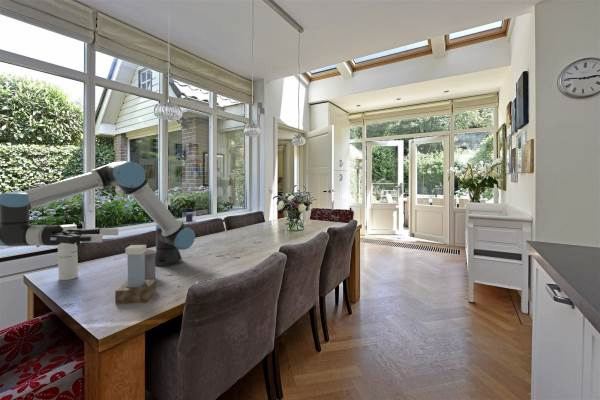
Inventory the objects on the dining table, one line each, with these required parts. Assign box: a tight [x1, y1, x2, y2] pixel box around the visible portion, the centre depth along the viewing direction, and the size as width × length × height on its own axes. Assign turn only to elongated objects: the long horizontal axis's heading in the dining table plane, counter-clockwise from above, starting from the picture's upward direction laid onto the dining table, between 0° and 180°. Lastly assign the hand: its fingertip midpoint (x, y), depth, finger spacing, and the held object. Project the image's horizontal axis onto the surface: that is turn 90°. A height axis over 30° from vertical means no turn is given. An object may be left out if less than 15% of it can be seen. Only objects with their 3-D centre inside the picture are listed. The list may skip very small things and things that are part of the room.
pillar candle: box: [145, 249, 156, 280], centre depth 134 cm, size 10×10×15 cm
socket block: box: [114, 279, 157, 305], centre depth 113 cm, size 11×11×6 cm
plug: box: [124, 244, 147, 288], centre depth 113 cm, size 6×6×20 cm
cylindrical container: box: [57, 223, 79, 281], centre depth 135 cm, size 7×7×25 cm
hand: (110, 234), depth 110 cm, fingers open, 13 cm apart
